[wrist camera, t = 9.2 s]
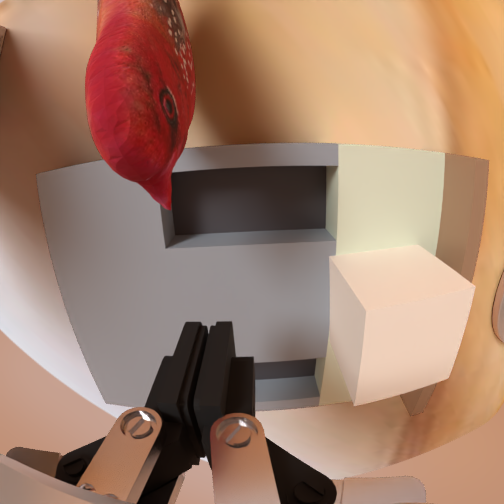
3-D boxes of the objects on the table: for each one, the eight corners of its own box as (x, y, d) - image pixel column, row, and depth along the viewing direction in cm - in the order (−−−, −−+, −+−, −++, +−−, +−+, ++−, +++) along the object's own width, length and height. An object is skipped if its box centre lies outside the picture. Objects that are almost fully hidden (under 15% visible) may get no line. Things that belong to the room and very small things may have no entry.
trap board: (433, 151, 14) (488, 160, 10) (397, 368, 20) (422, 412, 15) (60, 168, 14) (5, 182, 10) (115, 381, 20) (95, 428, 15)
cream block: (418, 244, 14) (475, 286, 9) (408, 324, 16) (448, 378, 11) (329, 256, 14) (366, 310, 9) (329, 340, 16) (354, 406, 11)
